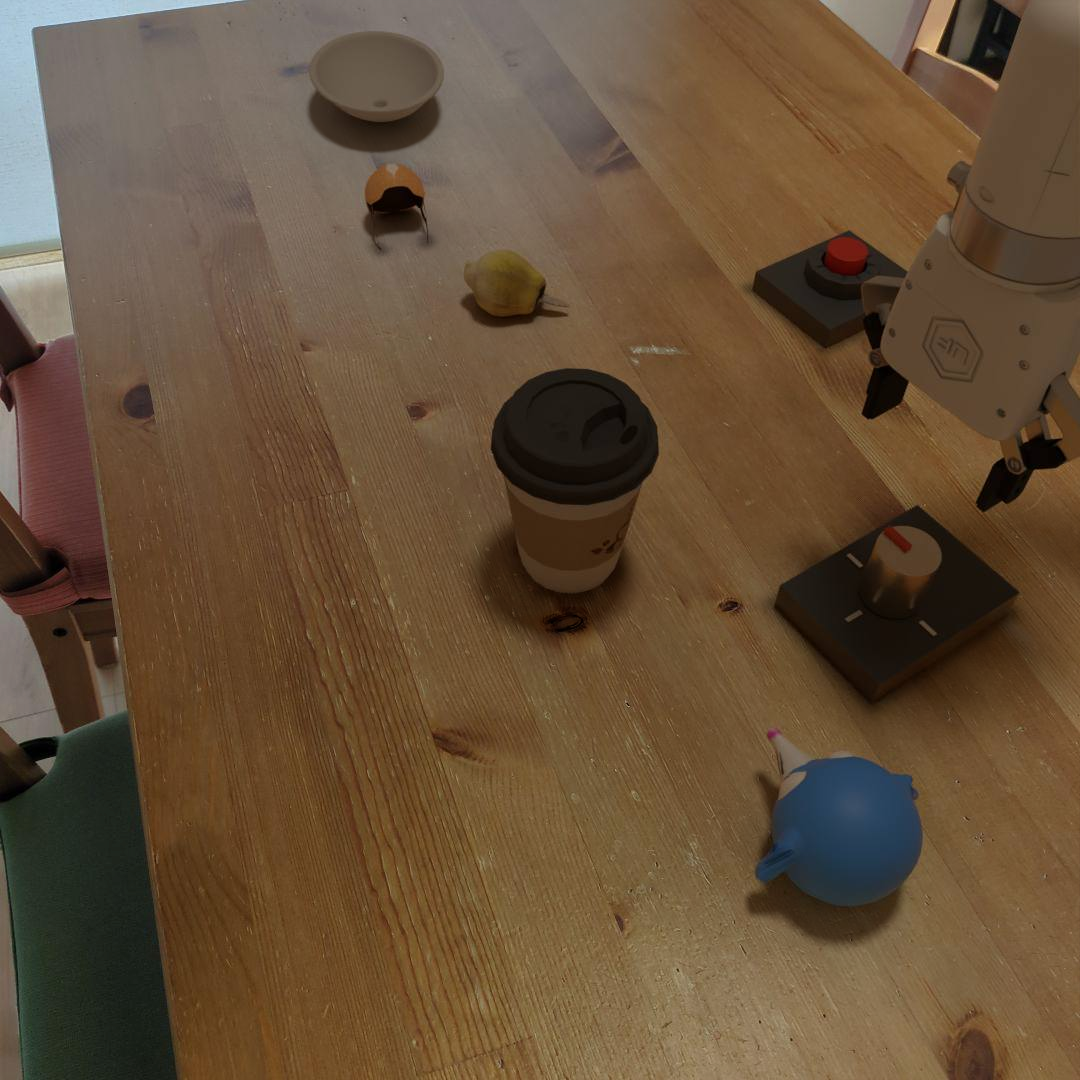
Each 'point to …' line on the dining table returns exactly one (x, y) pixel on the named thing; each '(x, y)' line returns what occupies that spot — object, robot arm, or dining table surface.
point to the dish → (376, 74)
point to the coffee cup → (573, 472)
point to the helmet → (394, 191)
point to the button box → (822, 291)
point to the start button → (845, 256)
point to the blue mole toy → (841, 826)
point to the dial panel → (883, 643)
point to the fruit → (507, 284)
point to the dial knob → (899, 571)
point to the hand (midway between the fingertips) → (935, 453)
